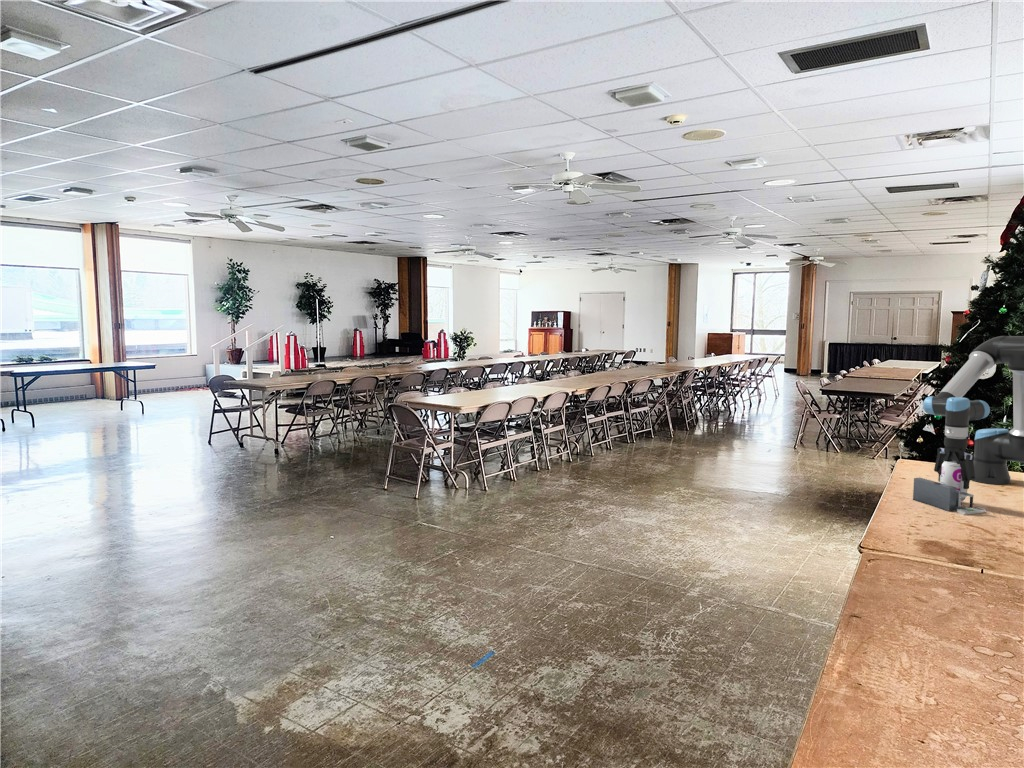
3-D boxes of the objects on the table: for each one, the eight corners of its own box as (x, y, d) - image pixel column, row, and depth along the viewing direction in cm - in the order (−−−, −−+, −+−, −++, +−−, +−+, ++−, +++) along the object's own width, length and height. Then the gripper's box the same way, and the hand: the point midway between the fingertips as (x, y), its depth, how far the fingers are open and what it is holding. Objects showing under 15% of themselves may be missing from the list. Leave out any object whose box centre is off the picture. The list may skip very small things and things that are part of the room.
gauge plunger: (928, 496, 259) (929, 482, 258) (973, 510, 240) (974, 494, 240) (926, 496, 258) (926, 482, 258) (970, 510, 240) (971, 495, 239)
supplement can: (970, 502, 249) (972, 464, 247) (948, 502, 249) (950, 464, 247) (956, 496, 257) (958, 459, 255) (935, 496, 257) (937, 459, 255)
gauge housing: (935, 497, 261) (936, 475, 260) (985, 512, 241) (986, 489, 240) (912, 499, 258) (913, 478, 257) (961, 515, 238) (962, 491, 237)
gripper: (924, 432, 259) (922, 487, 262) (974, 442, 239) (970, 501, 242) (939, 431, 261) (936, 485, 264) (989, 441, 241) (985, 499, 244)
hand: (952, 493), depth 253 cm, fingers closed on supplement can, 8 cm apart
